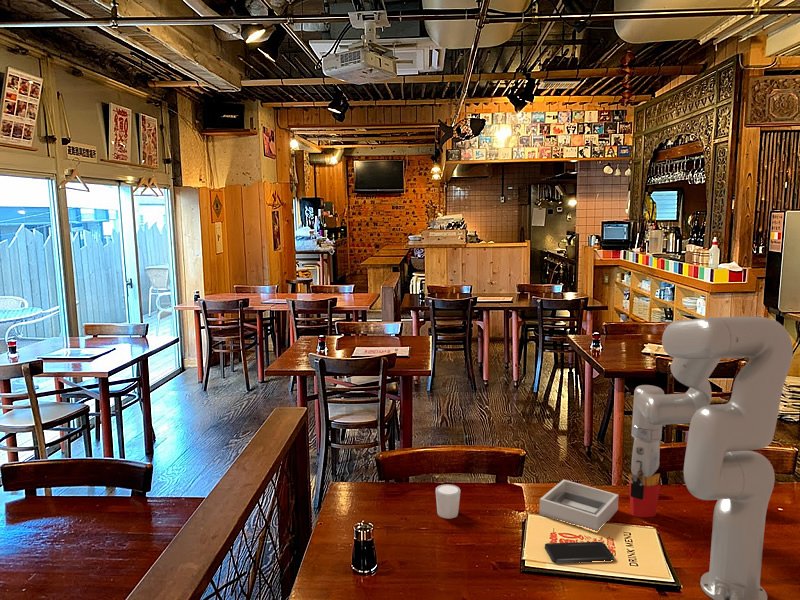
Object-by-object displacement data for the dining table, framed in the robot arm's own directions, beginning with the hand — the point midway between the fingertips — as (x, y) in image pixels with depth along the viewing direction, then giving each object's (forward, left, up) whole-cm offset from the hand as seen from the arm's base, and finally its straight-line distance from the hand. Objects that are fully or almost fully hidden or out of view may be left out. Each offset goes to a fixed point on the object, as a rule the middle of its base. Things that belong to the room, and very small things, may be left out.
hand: (642, 491), depth 163 cm
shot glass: (-33, +42, -7) cm, 54 cm away
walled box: (-10, +14, -6) cm, 18 cm away
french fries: (0, 0, -7) cm, 7 cm away
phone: (-30, +6, -7) cm, 32 cm away
